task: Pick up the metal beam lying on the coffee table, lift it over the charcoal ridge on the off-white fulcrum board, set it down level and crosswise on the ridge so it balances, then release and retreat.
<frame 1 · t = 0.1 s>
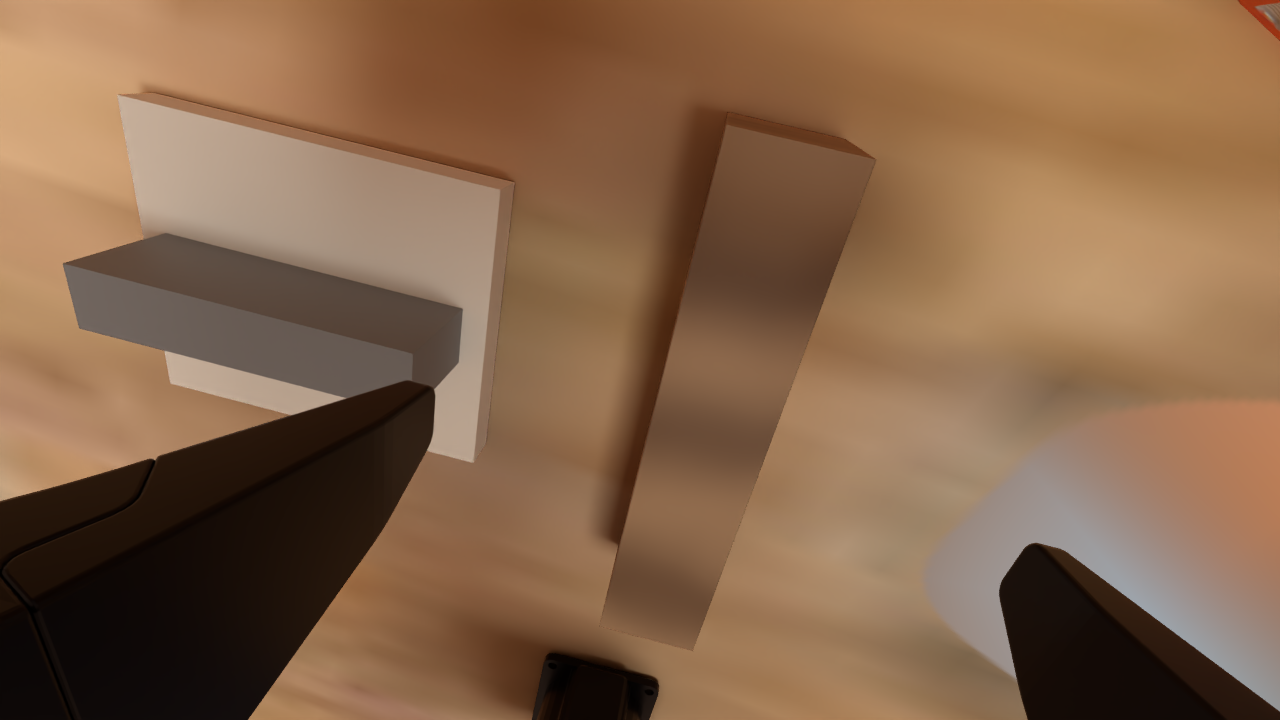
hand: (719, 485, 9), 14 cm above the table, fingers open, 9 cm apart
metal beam: (710, 378, 25), on the table
fulcrum: (337, 286, 25), on the table
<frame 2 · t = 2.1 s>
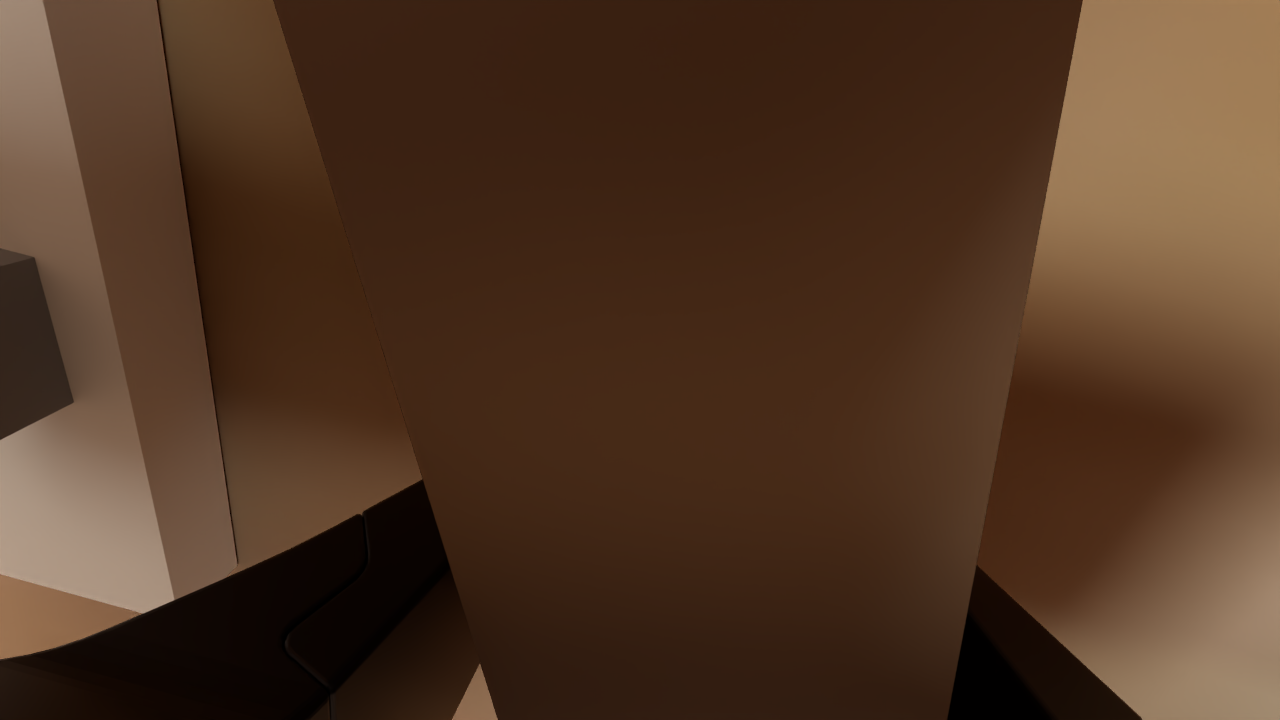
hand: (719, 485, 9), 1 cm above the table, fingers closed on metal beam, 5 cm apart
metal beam: (718, 440, 10), on the table, touching gripper
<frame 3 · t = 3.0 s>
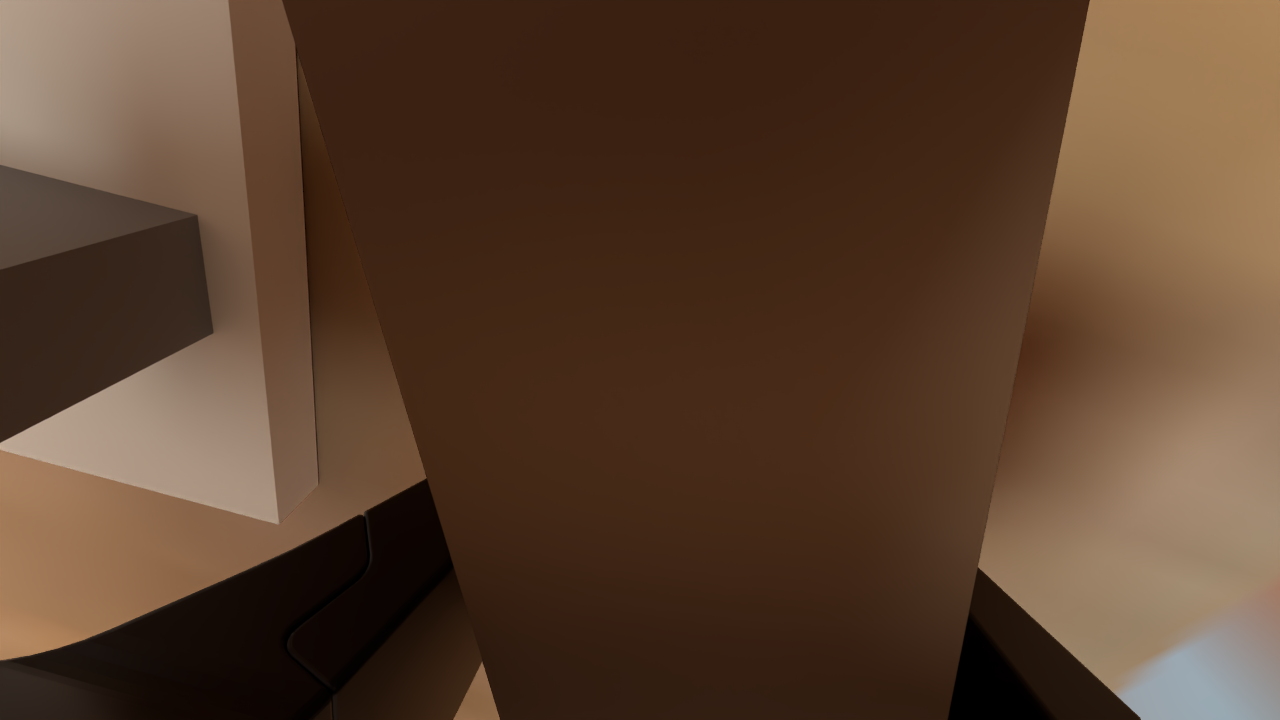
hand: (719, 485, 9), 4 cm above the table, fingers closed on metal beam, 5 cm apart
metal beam: (718, 441, 10), point 3 cm above the table, touching gripper
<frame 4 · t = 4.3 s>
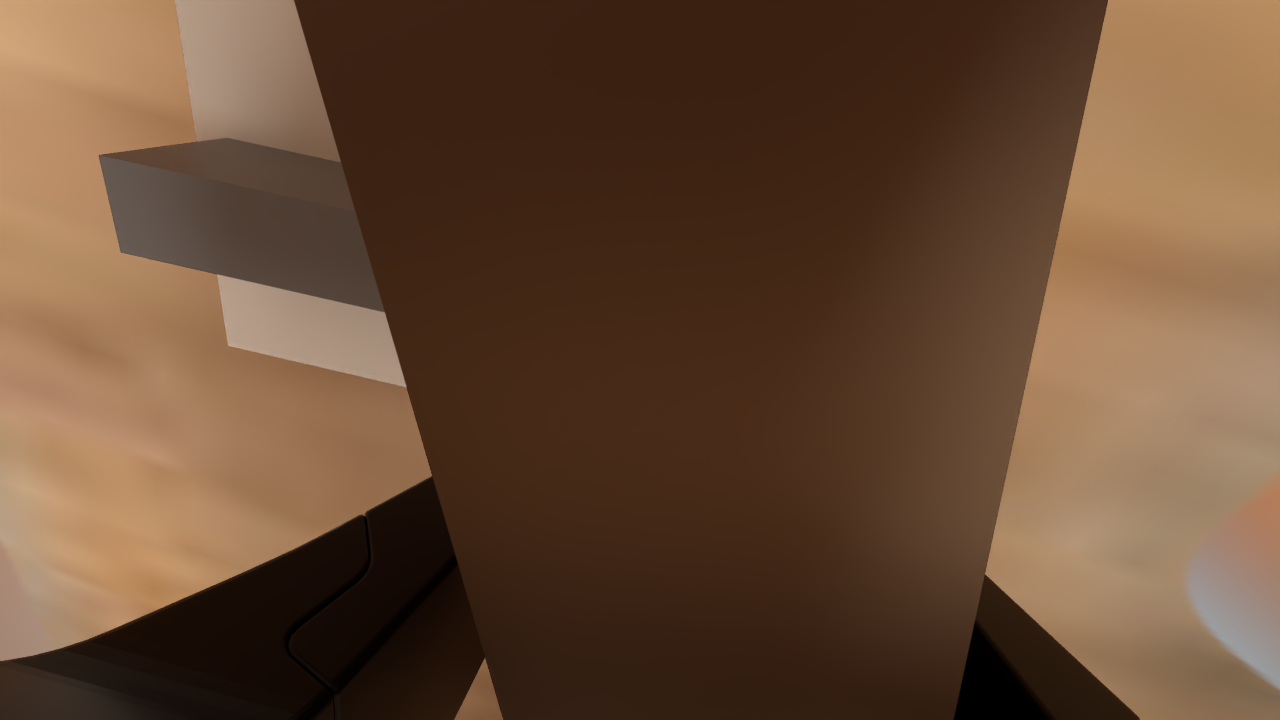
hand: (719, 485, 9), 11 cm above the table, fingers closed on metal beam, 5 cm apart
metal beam: (721, 439, 10), point 10 cm above the table, touching gripper
fulcrum: (442, 209, 19), on the table
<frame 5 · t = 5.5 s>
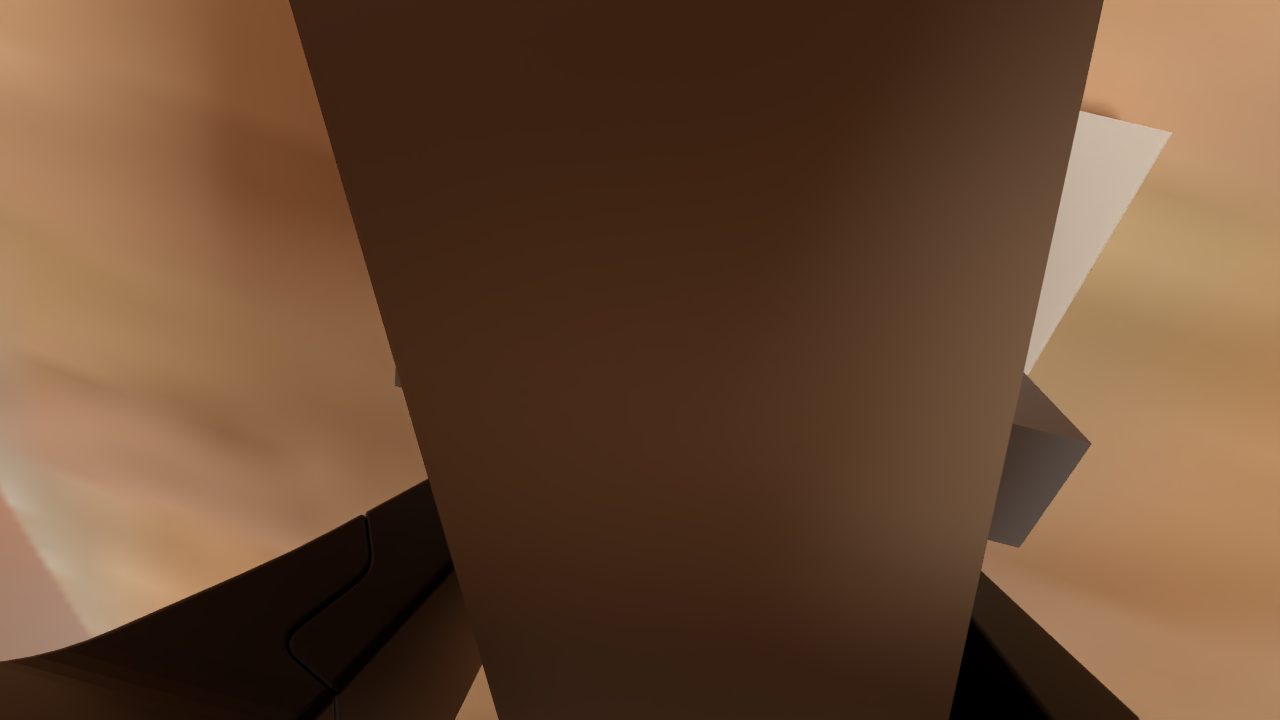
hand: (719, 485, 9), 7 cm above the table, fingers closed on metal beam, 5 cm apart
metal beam: (719, 437, 10), point 6 cm above the table, touching gripper
fulcrum: (723, 303, 15), on the table
when the fingers open (7 cm above the table, at t = 6.3 s): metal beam stays where it is, resting on fulcrum.
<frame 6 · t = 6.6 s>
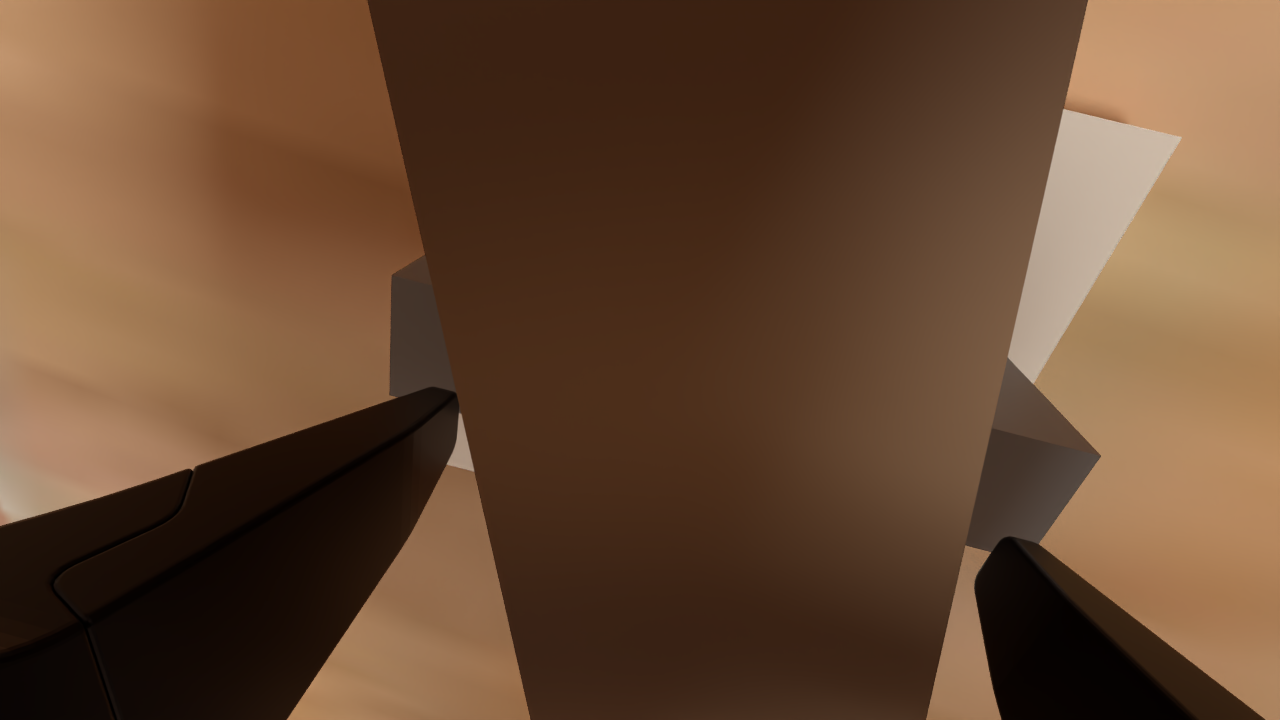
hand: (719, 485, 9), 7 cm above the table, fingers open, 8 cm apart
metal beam: (721, 422, 10), point 5 cm above the table, touching fulcrum
fulcrum: (724, 308, 15), on the table
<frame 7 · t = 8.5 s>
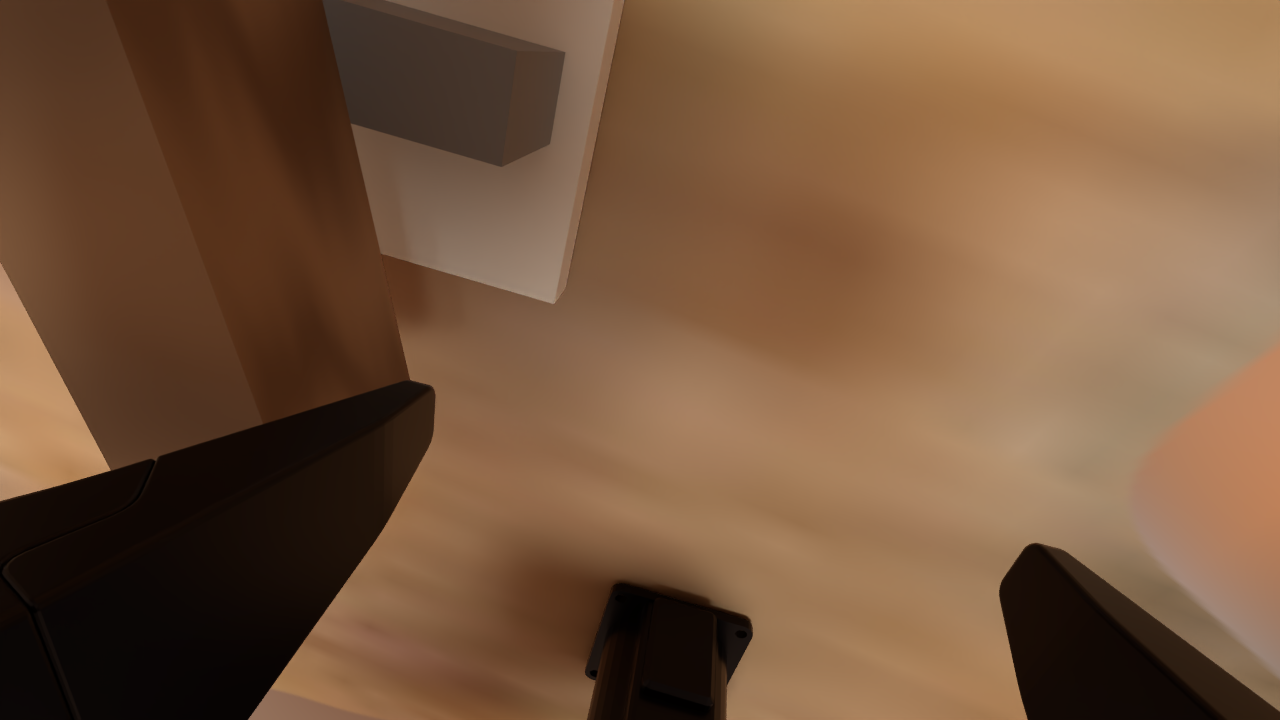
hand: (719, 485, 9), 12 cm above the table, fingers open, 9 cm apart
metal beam: (244, 33, 13), point 5 cm above the table, touching fulcrum
fulcrum: (378, 40, 18), on the table
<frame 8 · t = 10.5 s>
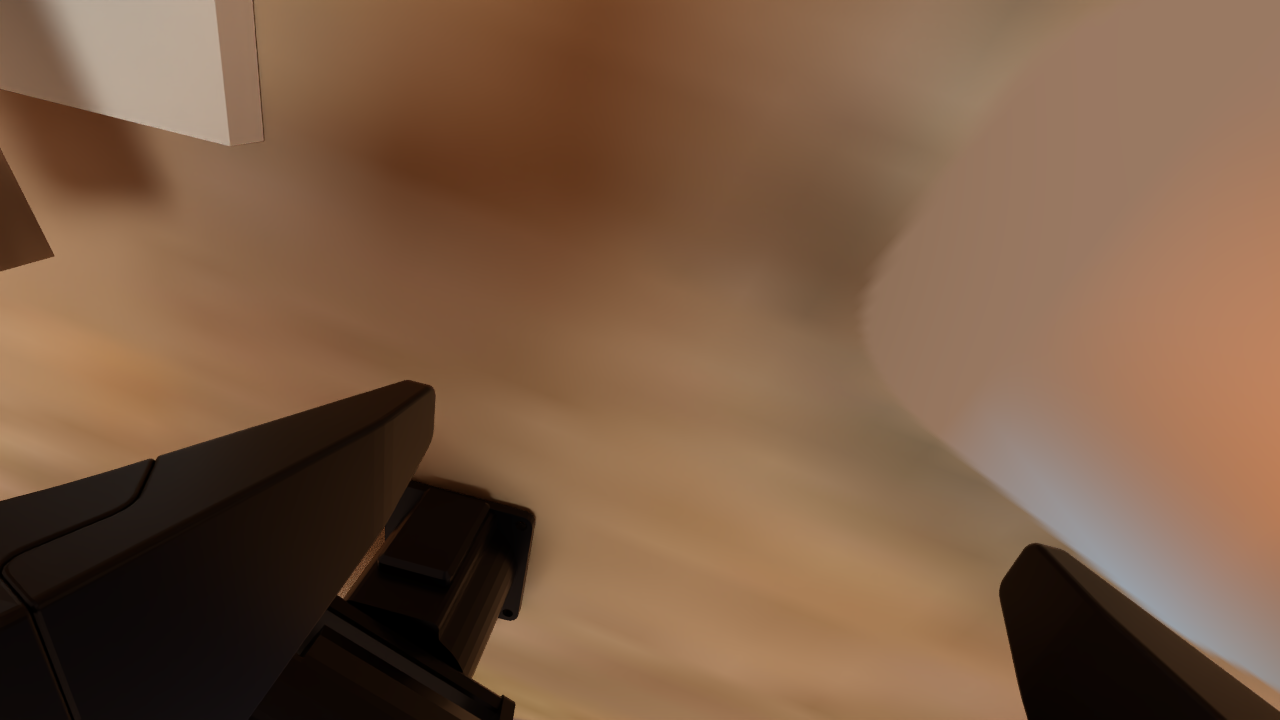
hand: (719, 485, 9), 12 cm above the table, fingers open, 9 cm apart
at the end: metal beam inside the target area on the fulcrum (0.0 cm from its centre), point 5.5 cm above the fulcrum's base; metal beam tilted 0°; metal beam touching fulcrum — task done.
